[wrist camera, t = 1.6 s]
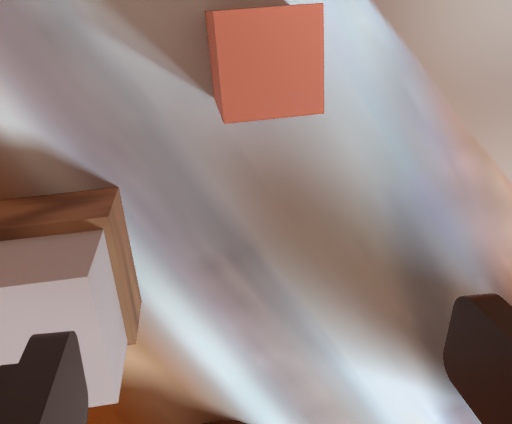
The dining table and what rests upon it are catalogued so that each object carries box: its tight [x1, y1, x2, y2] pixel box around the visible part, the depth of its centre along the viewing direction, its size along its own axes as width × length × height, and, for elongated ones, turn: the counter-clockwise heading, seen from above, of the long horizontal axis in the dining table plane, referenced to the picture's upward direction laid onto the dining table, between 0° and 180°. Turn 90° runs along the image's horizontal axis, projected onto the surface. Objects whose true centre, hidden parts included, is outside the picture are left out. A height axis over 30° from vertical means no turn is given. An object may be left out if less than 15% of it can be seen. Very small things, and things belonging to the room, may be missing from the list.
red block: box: [205, 3, 324, 124], centre depth 25 cm, size 5×5×7 cm
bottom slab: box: [0, 187, 141, 345], centre depth 29 cm, size 9×9×5 cm
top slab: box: [0, 230, 127, 408], centre depth 25 cm, size 8×8×5 cm
